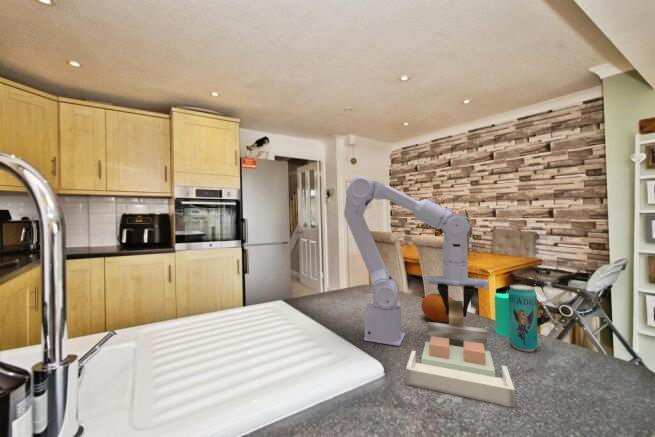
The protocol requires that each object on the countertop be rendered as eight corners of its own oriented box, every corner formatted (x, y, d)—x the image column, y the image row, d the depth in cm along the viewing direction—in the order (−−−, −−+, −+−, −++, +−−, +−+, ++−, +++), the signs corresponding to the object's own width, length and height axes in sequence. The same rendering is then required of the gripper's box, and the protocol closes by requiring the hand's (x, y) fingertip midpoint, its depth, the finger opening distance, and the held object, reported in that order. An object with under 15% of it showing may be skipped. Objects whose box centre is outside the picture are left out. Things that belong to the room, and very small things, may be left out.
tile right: (464, 361, 61) (464, 349, 61) (463, 351, 66) (463, 340, 66) (485, 365, 60) (485, 353, 60) (483, 354, 64) (483, 343, 64)
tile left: (429, 355, 64) (429, 344, 64) (431, 346, 69) (431, 336, 69) (448, 359, 63) (448, 347, 63) (449, 349, 67) (449, 338, 67)
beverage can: (511, 350, 70) (510, 288, 70) (507, 341, 75) (506, 283, 75) (540, 355, 67) (539, 290, 67) (534, 345, 72) (533, 285, 72)
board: (421, 365, 63) (421, 358, 63) (425, 347, 72) (425, 341, 72) (495, 379, 57) (495, 371, 57) (490, 358, 66) (489, 351, 66)
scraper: (428, 335, 72) (427, 317, 71) (430, 315, 80) (429, 298, 78) (486, 343, 67) (487, 324, 66) (483, 321, 74) (484, 303, 73)
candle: (524, 338, 76) (523, 293, 76) (499, 336, 78) (499, 292, 78) (514, 329, 82) (514, 287, 82) (491, 328, 83) (491, 287, 84)
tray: (406, 384, 56) (405, 368, 56) (412, 364, 64) (412, 350, 64) (515, 407, 49) (514, 390, 49) (506, 381, 56) (506, 366, 56)
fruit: (464, 325, 86) (464, 298, 86) (432, 327, 85) (431, 300, 85) (444, 313, 97) (444, 290, 97) (415, 315, 95) (415, 291, 95)
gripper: (423, 262, 72) (424, 316, 72) (489, 264, 66) (490, 323, 66) (426, 258, 79) (427, 308, 79) (486, 260, 73) (487, 314, 73)
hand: (456, 314), depth 73 cm, fingers closed on scraper, 3 cm apart
